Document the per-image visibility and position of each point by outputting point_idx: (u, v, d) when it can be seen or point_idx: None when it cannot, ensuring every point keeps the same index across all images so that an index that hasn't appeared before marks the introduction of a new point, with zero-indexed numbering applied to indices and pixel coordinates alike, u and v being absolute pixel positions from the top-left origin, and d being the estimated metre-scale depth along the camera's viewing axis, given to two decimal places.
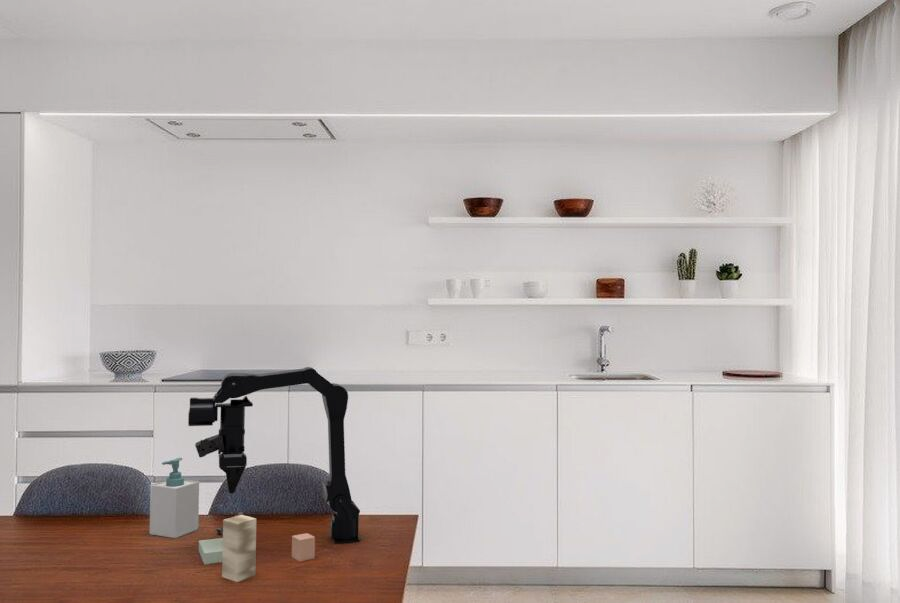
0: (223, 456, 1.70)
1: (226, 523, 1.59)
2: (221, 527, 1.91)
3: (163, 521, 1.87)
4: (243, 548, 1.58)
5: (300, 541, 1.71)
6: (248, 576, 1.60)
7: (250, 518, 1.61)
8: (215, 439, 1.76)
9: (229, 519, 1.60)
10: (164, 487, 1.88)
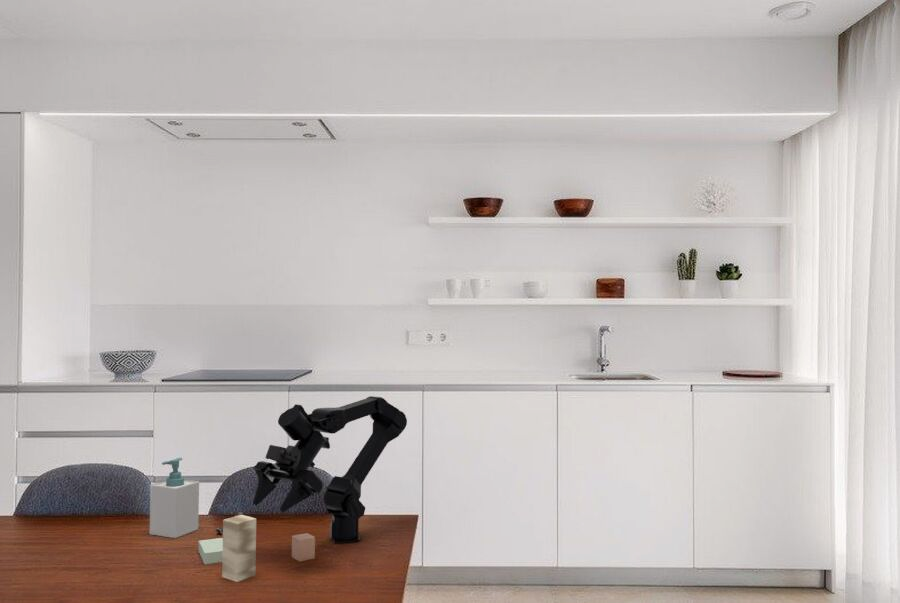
0: (312, 472, 1.66)
1: (226, 523, 1.59)
2: (221, 527, 1.91)
3: (163, 521, 1.87)
4: (243, 548, 1.58)
5: (300, 541, 1.71)
6: (248, 576, 1.60)
7: (250, 518, 1.61)
8: None
9: (229, 519, 1.60)
10: (164, 487, 1.88)
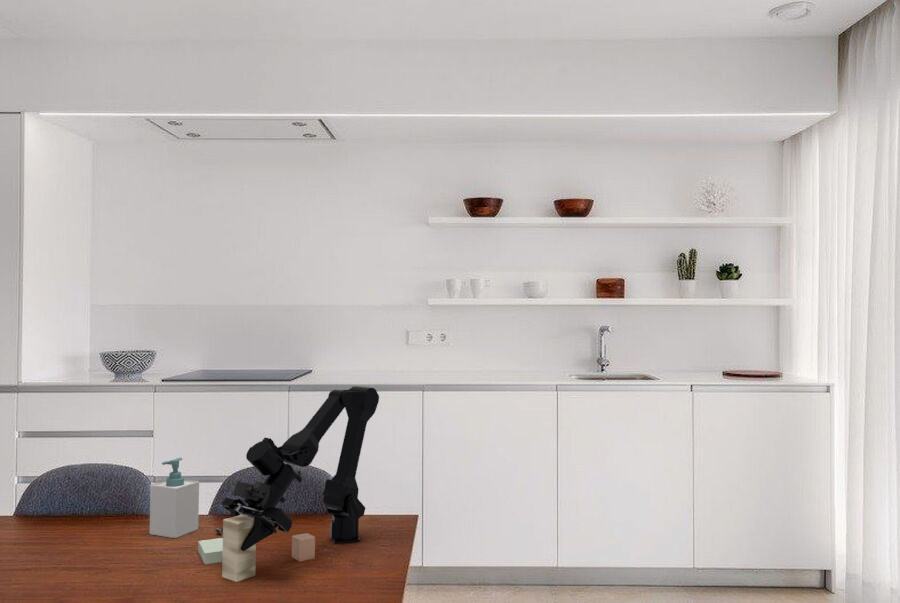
0: (281, 510, 1.59)
1: (226, 523, 1.59)
2: (220, 527, 1.91)
3: (163, 521, 1.87)
4: None
5: (300, 541, 1.71)
6: (248, 576, 1.60)
7: (250, 518, 1.61)
8: None
9: (229, 519, 1.60)
10: (164, 487, 1.88)
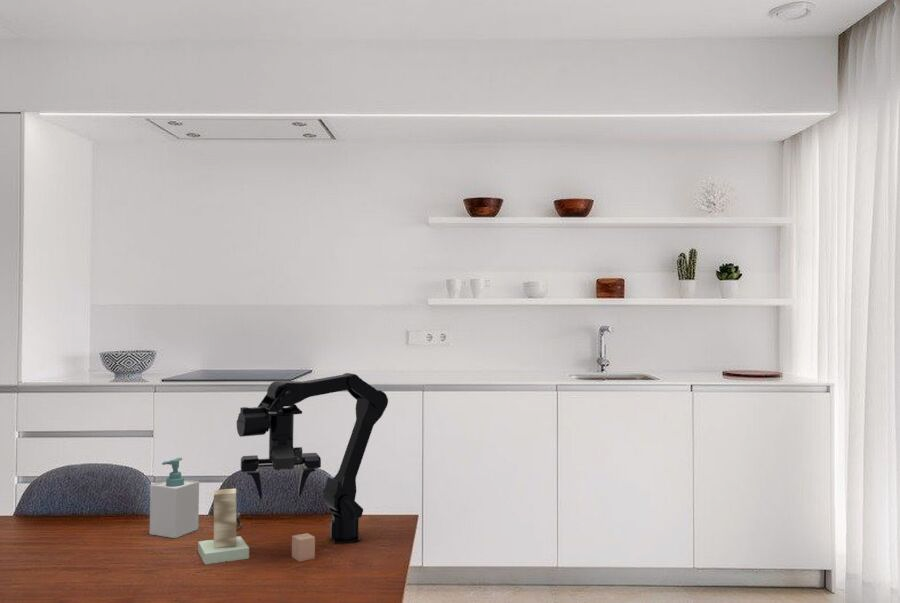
0: (319, 457, 1.79)
1: None
2: None
3: (163, 521, 1.87)
4: (220, 518, 1.72)
5: (300, 541, 1.71)
6: (227, 545, 1.72)
7: (232, 492, 1.74)
8: (291, 448, 1.75)
9: (218, 490, 1.76)
10: (164, 487, 1.88)
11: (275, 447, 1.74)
